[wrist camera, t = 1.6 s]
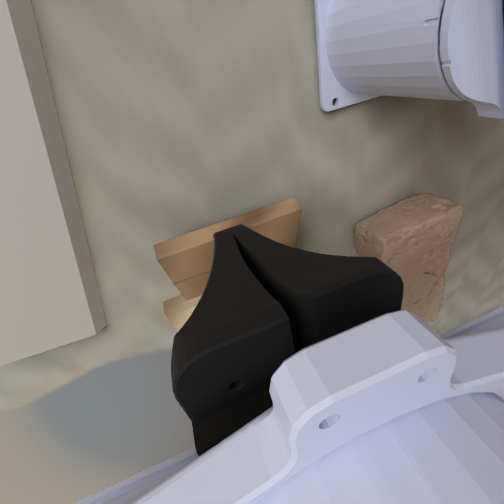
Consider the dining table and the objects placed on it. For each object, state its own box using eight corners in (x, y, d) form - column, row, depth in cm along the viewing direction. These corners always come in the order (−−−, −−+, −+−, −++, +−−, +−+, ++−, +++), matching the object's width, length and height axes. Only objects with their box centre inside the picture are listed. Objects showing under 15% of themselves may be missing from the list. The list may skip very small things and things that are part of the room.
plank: (293, 196, 19) (301, 209, 19) (287, 248, 25) (294, 259, 25) (153, 245, 18) (157, 261, 17) (182, 288, 24) (186, 300, 23)
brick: (414, 296, 37) (445, 321, 33) (359, 324, 36) (385, 352, 32) (422, 184, 27) (467, 201, 24) (348, 219, 27) (382, 242, 23)
